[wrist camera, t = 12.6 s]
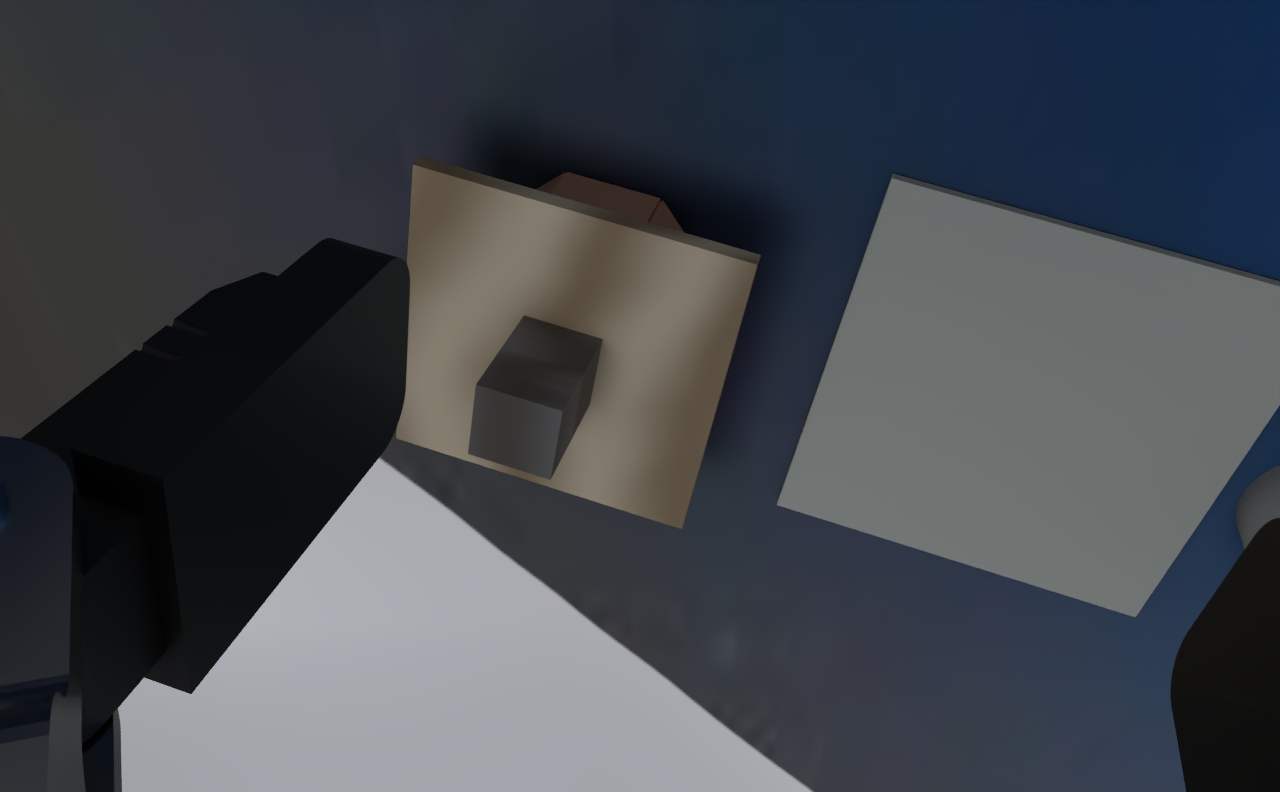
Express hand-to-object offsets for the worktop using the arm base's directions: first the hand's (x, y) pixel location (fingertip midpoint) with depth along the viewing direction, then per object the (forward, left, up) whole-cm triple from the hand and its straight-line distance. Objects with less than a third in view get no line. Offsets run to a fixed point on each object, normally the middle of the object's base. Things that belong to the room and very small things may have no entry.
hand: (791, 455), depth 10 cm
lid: (+8, +18, -26) cm, 33 cm away
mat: (-11, +18, -32) cm, 38 cm away
